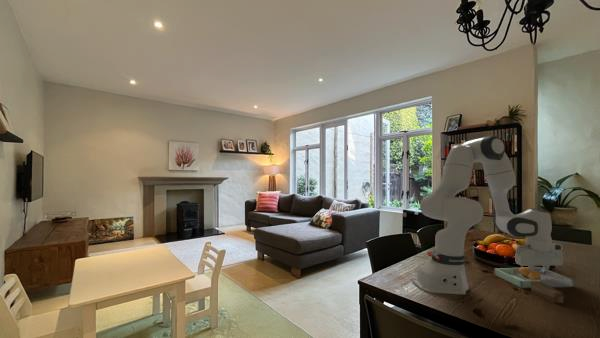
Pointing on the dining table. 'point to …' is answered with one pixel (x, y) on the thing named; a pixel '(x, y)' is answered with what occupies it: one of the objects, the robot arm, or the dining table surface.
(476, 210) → the robot arm
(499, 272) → the tray
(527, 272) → the ball
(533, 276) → the ball
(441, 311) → the dining table surface
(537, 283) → the taupe rectangular slab
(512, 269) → the grey metal shallow bin
